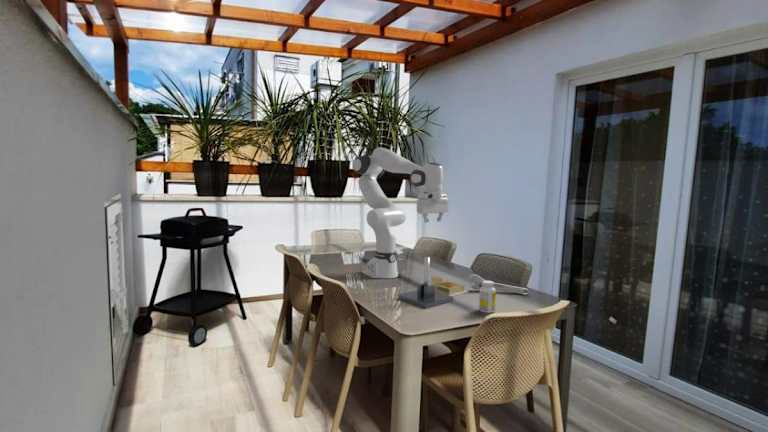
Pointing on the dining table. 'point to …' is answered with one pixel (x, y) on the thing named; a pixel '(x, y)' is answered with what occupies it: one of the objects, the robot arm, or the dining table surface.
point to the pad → (458, 293)
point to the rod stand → (426, 292)
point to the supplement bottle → (487, 297)
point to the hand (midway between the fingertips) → (432, 221)
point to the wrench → (496, 285)
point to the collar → (446, 286)
